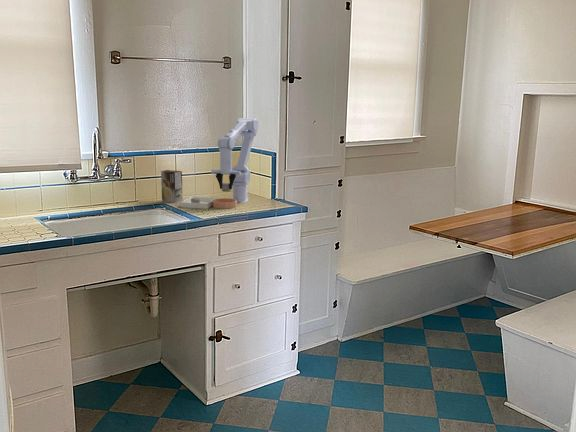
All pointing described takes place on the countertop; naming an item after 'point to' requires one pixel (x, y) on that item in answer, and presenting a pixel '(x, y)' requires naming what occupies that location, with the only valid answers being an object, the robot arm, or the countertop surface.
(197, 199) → the stone
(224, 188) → the stone
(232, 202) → the bowl
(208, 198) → the parts tray
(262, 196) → the countertop surface
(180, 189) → the coffee box
